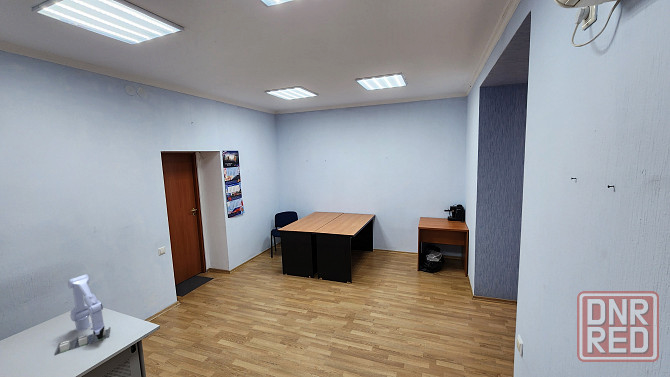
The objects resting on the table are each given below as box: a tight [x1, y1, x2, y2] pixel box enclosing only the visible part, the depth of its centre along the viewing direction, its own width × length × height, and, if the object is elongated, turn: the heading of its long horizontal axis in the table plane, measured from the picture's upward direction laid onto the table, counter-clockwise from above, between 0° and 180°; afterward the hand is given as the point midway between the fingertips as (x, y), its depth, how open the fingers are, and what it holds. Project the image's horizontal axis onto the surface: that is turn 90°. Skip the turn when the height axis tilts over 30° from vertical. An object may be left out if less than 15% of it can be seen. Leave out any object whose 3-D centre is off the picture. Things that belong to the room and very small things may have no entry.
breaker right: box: [59, 340, 70, 352], centre depth 177 cm, size 4×4×4 cm
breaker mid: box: [78, 334, 88, 347], centre depth 182 cm, size 4×4×4 cm
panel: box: [54, 326, 111, 356], centre depth 185 cm, size 12×27×2 cm, turn 126°
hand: (100, 338), depth 185 cm, fingers closed
